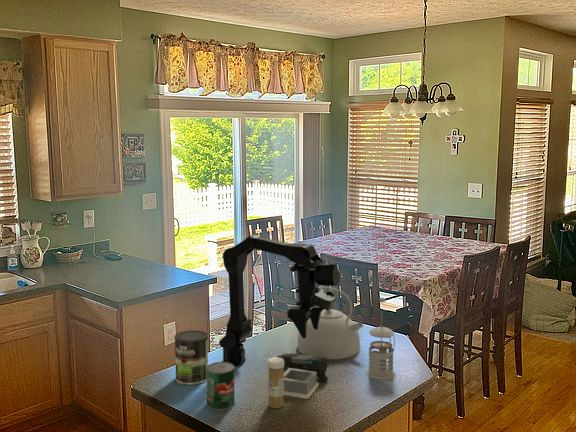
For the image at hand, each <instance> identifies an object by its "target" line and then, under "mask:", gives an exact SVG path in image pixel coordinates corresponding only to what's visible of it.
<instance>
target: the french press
mask: <svg viewBox="0 0 576 432" xmlns="http://www.w3.org/2000/svg"><path fill="white" fill-rule="evenodd" d="M378 302H380V303H385V302H386V299H385V297H380V298H379V299H378ZM380 314H381V321H380V323H381V324H380V326H377V327H373V328H371V329H369V330H368V333H369V335H371V337H375V338H380V340H375V341H371V342H370V343H369V345H370V346H369V347H368V368H367V370H365V375H366V374H367V375H366V376H367V377H369V378H371V379H375V380H380V379H381V380H382V379H383V380H391V379H393V378H394V379H395V377H396V376H397V373H396V372H395V371H394V351H395V346H396V339H395V336H394V335H395V332H394V331H393V330H392V329H390V328H388V327H387V326H386V327H385V326H383V312H381V313H380ZM392 337H393V341H394V342H393V343H394V344H393V343H391V342H392V341H391V340H392V339H391V338H392ZM384 338H387V339H389V341H385V340H382V339H384ZM373 349H374V350H373ZM383 380H382V381H383Z"/></svg>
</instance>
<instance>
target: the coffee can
mask: <svg viewBox="0 0 576 432" xmlns="http://www.w3.org/2000/svg"><path fill="white" fill-rule="evenodd" d="M208 337H209V335H208V333H207V332H206V331H203V330H194V329H193V330H184V331H181V332H177V333H176V334H175V335H174V355H175V358H174V359H175V363H174V364H175V381H176V382H177V383H178V384H180V385H184V384H185V385H184V386H194V385H199V384H203V383H205V382H207V380H206V379H207V378H206V376H207V375H206V367H207V366H208V365H209V363H208V362H209V361H208V360H209V357H208V356H209V353H208V352H209V350H208V346H209V345H208Z"/></svg>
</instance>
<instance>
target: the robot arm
mask: <svg viewBox="0 0 576 432" xmlns="http://www.w3.org/2000/svg"><path fill="white" fill-rule="evenodd" d="M255 250H258V251H262V252H266V253H270V254H273V255H277V256H281V257H285V258H286V259H288V261H290V262H292V263H294V264H293V266H292V267H291V268H290V269H289V270H290V272H296V279H297V288H296V289H295V293H296V294H297V293H298V301H297V302H295V303H296V305H294V306H292V307H291V308H288V310H287V311H286V313H287V314H286V315H287V319H289V320H290V321H291V322H292V323H293V324H294V326H295V328H296V330H297V332H298V334H299V333H300V335H301V336H302V338H306V331H307V321H308V320H309V319H311V322H312V325H313V328H314V329H316V330H317V329H318V325H319V320H320V315H321V312H322V311H323V310H329V309H330V308H331V309H332V308H333V307H334V304H335V302H336V296H335V291H334V290H328V291H326V292H321V291H320V289H319V288H318V287H319V286H325V287H330V286H331V287H333V286H334V287H337V286H338V285H339V284H340V280H341V272H340V271H339V268H338V267H337V263H334V262H332V263H324V262H325V261H323V260H322V258H321V257H320V255H319V254H318V253H317V249H316V248H315V246H314V245H313V244H312V243H288V242H283V241H280V240H276V239H271V238H267V237H264V236H260V235H258V234H252V235H250V236H247V237H246V238H245V239H243V240H242V241H240V242H238V243H237V244H236V245H234V246H232V247H228V248H226V249H225V250H224V251H223V252H222V262H223V266H224V268H225V270H226V272H227V274H228V294H229V319H228V321H227V324H226V328H225V329H226V330H225V335H224V336H223V337H222V338H221V339H219V346H220V347H221V348H222V355H223V356H222V360H221V362H228V363H231V364H233V365H234V367H239V366H240V365H241V364H243V363H244V362H245V361H246V360H247V359H246V350H245V349H246V348H245V347H244V343H245V342H246V341H247V338H248V337H249V336H251V331H253V329H252V319H251V318H249V319H248V317H247V316H246V312H245V292H244V291H245V289H244V288H245V287H244V286H245V285H244V272H245V269H246V266H247V264H248V263H247V262H248V255H250V254H251V253H253V251H255Z"/></svg>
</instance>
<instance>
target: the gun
mask: <svg viewBox="0 0 576 432" xmlns="http://www.w3.org/2000/svg"><path fill="white" fill-rule="evenodd" d="M276 357H280V358H283V359H284V367H286V368H287V369H288V368H293V369H300V370H307V371H314V372H317V379H318V380H319V381H320V383H322V384H323V383H326V382H328V380H329V377H328V376H327V375H326V372H327V370H328V369H327V368H328V367H329V362H328V359H327V358H325V357H317V356H315V357H312V356H307V355H304V354H299V353H292V352H291V353H282V354H280V355H277V356H276Z"/></svg>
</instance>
